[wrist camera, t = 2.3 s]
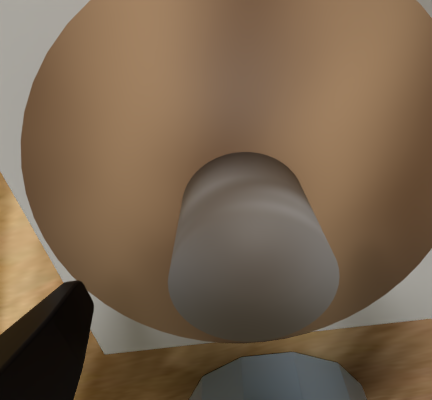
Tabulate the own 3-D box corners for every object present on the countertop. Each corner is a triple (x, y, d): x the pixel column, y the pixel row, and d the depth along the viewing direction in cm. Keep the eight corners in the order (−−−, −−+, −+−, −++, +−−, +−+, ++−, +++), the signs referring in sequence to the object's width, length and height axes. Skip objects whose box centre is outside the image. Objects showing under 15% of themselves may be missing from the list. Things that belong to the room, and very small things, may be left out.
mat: (550, -183, 7) (567, -193, 7) (433, 310, 15) (438, 317, 15) (-100, -27, 9) (-114, -29, 8) (107, 347, 17) (104, 354, 16)
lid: (503, -119, 7) (827, -264, 3) (418, 304, 14) (494, 413, 10) (-56, 10, 9) (-279, 10, 5) (118, 339, 16) (85, 448, 12)
